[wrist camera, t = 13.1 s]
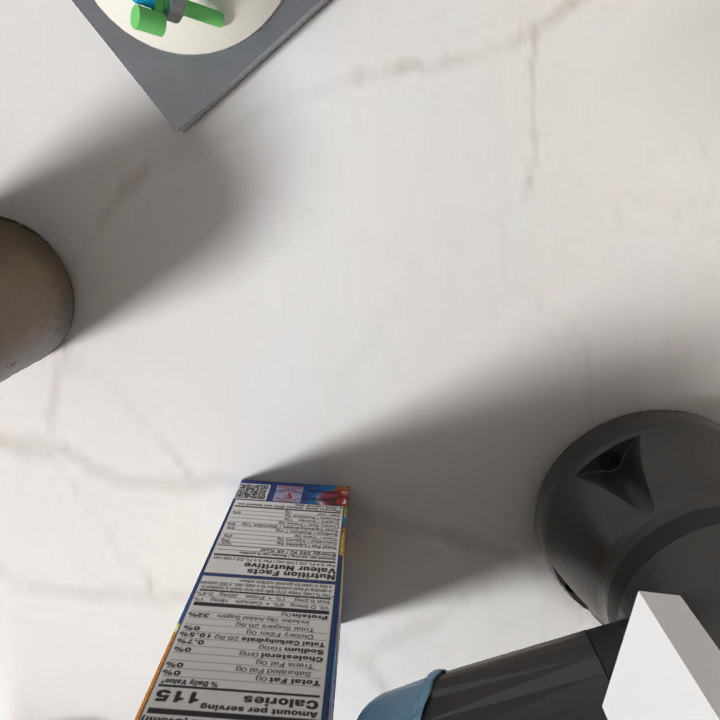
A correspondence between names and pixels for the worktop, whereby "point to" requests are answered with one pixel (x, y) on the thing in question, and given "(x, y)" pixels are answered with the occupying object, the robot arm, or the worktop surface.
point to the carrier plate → (196, 60)
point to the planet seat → (198, 25)
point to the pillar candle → (30, 298)
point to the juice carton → (261, 613)
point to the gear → (170, 14)
